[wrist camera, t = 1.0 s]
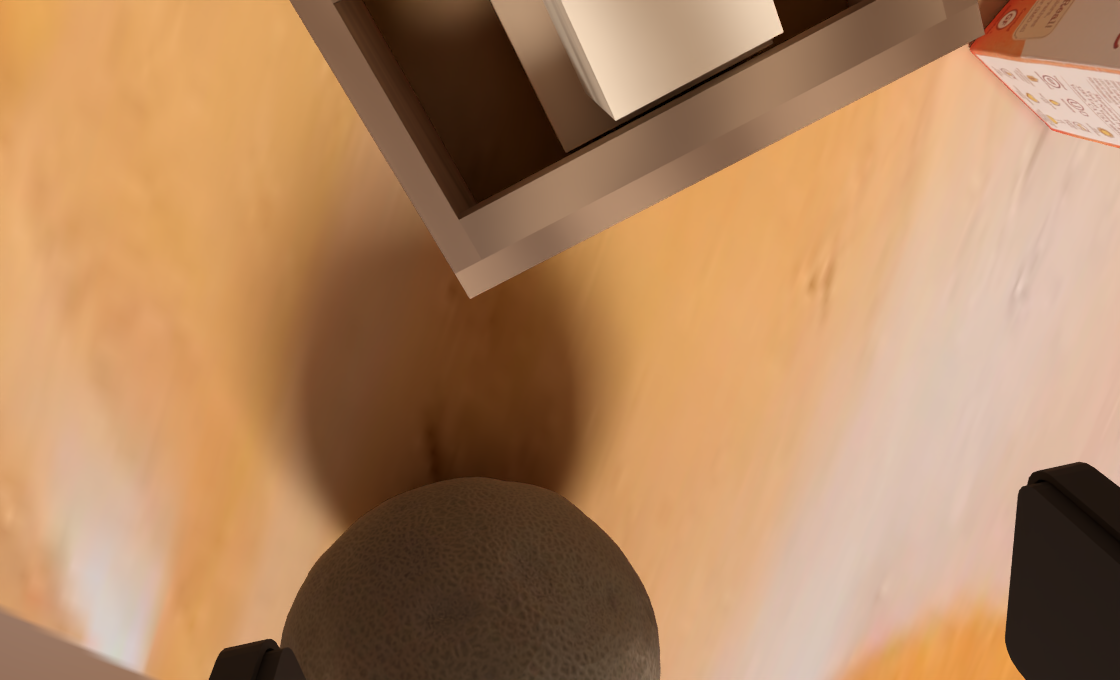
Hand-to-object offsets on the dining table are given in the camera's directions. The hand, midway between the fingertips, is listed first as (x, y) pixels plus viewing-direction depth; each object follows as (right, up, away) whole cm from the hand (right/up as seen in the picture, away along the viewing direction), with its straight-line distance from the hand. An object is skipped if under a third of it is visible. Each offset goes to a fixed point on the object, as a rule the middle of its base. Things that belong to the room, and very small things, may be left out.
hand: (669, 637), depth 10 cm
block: (+1, +15, +15) cm, 22 cm away
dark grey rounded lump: (-6, -5, +28) cm, 29 cm away
